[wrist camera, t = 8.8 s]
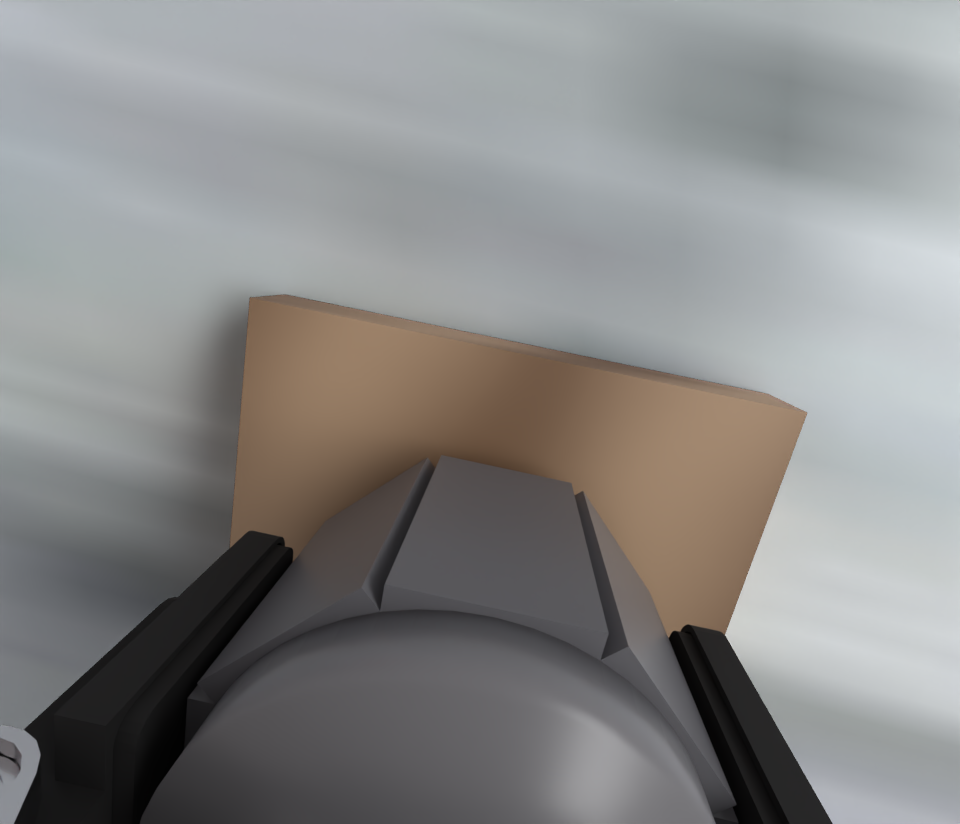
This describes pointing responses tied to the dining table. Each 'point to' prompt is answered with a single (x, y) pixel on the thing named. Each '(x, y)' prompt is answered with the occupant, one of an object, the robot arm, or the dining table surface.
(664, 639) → the cap
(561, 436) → the stud block
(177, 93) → the dining table surface
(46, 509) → the dining table surface
